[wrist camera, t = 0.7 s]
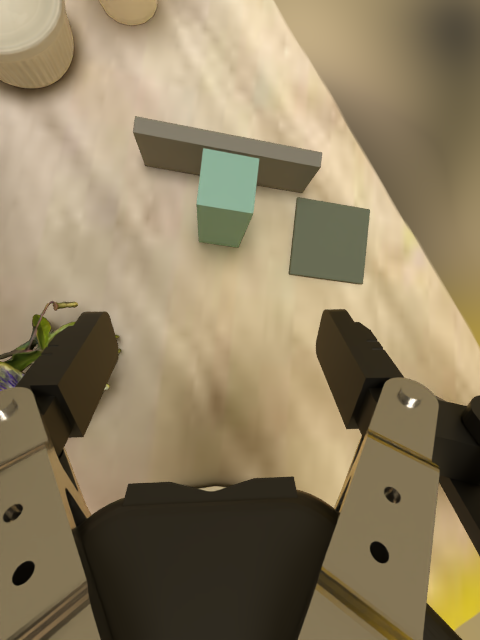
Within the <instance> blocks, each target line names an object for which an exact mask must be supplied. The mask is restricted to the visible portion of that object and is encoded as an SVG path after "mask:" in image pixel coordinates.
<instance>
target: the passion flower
mask: <svg viewBox="0 0 480 640" xmlns="http://www.w3.org/2000/svg"><path fill="white" fill-rule="evenodd" d="M50 303H53V307H54V310H55V311H56V310H57V309H59V308H66V307H69V308H71V307H74V308H75V307H77V306H78V303H76V302H62V303H57V302H53V301H51V302H50ZM50 303H48V304H47V305H46V307H45V309H44V310H43V312H42V314H41V315H37V314H36V315H34V316H33V319H32V326H33V331H32V335H31V338H30V340H29V341H28V342H26V343H24V344H23V345H21V346H19V347H18V348H16V349H15V350H13V351H11V352H9V353H4V354H2V355H0V359H4V358H7V357H10V356H12V358H11V359H9V360H7V361H5V362H1V361H0V391H1V390H4V389H8V388H13V387H15V386H16V385H17V384H18V382H19V381H20V380H21V378H22V377H23V376H24V375H25V373H23V372H22V371H23V370H24V369H25V368H26V367H28V366H29V365H31V364H33V363H34V362H35V361H36V359H37V358H38V357H39V356H41V353H42V352H43V350H44V349H45V348H46V347H48V344H49V343H50V341H51V340H52V339H53V338H54V336H55V335H56V334H58V333H59V332H61V331H62V330H63V329H65V328H66V327H68V326H73V325H74V324H75V322H71V323H68V324H66V325H64V326H61V327H60V328H59V329H56V330H54V331H53V332H51V333H50V331H51V326H50V323H49V322H48V321H47V319H46V318H44V317H43V315H44V313H45V311H46V309H47V307H48V306H49V305H50ZM115 337H116V338H119V336H118V335H115ZM36 344H38V347H37V349H36V350H33V348H34V347H35V346H36ZM120 351H121V350H120V349H118V353H120ZM109 387H110V386H109V385H108V384H107V385H106V387H105V389H104V390H106V389H109Z"/></svg>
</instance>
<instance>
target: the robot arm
mask: <svg viewBox="0 0 480 640" xmlns="http://www.w3.org/2000/svg"><path fill="white" fill-rule="evenodd" d="M316 354H317V358H318V360H319V363H320V365H321V367H322V370H323V372H324V375H325V377H326V380H327V382H328V385H329V387H330V390H331V392H332V395H333V397H334V399H335V402H336V404H337V407H338V409H339V412H340V414H341V417H342V419H343V422H344V424H345V427H346V429H359V430H360V432H361V434H362V436H361V439H360V441H359V444H358V447H357V449H356V452H355V455H354V457H353V460H352V463H351V465H350V468H349V471H348V474H347V476H346V479H345V482H344V484H343V487H342V490H341V492H340V495H339V497H338V500H337V502H336V505H335V507H334V508H333V507H332V506H330V505H329V504H327V503H326V502H324V501H323V500H321V499H319V498H317V497H315V496H313V495H311V494H309V493H306V492H303V491H300V490H296V486H295V481H294V477H274V478H254V479H250V480H247V481H244V482H241V483H238V484H235V485H232V486H229V487H226V488H223V489H220V490H217V491H205V490H201V489H197V488H193V487H189V486H184V485H180V484H176V483H172V482H159V483H135V484H128V487H127V491H126V495H125V498H122V499H120V500H117V501H115V502H113V503H111V504H109V505H107V506H105V507H103V508H102V509H100V510H98V511H97V512H95V513H94V514H93V515H91V513H90V511H89V509H88V507H87V505H86V503H85V500H84V498H83V495H82V493H81V490H80V487H79V485H78V482H77V479H76V476H75V474H74V471H73V468H72V465H71V463H70V460H69V457H68V455H67V452H66V450H65V448H64V446H65V444H66V442H67V440H68V438H71V437H84V434H85V432H86V430H87V428H88V425H89V423H90V421H91V419H92V416H93V414H94V412H95V409H96V407H97V405H98V403H99V400H100V398H101V396H102V394H103V391H104V389H105V387H106V385H107V382H108V380H109V378H110V375H111V373H112V371H113V369H114V366H115V364H116V362H117V359H118V343H117V340H116V337H115V333H114V330H113V326H112V323H111V319H110V316H109V314H108V313H107V312H83V313H82V314H81V316H80V317H79V318H78V320H77V321H76V322H75V324H74V325H73V326H68V327H66V328H65V329H63V330H62V331H61V332H59V333H58V334H56V335H55V336H54V338H53V339H52V340H51V341H50V343H49V344H48V347H46V348H45V349H44V350H43V352H42V353H41V356H39V357H38V358H37V359H36V361H35V362H34V363H33V364H32V366H31V367H30V368H29V370H28V371H27V372H26V373H25V375H24V376H23V377H22V378H21V380H20V381H19V382H18V384H17V385H16V386H15V387H13V388H8V389H4V390H1V391H0V640H462V639H461V638H460V637H459V636H458V635H457V634H456V633H455V632H454V631H453V630H452V629H451V628H450V627H449V625H448V624H447V623H446V622H445V621H444V620H443V619H442V618H441V617H440V616H439V615H438V614H437V613H436V612H435V611H434V610H433V609H432V608H431V607H430V606H429V605H428V604H427V603H426V602H427V592H428V582H429V572H430V563H431V553H432V543H433V533H434V523H435V514H436V504H437V494H438V484H439V482H440V484H441V486H442V488H443V490H444V492H445V493H446V495H447V497H448V499H449V501H450V503H451V504H452V506H453V508H454V510H455V512H456V514H457V515H458V517H459V519H460V521H461V523H462V525H463V526H464V528H465V530H466V532H467V534H468V536H469V537H470V539H471V541H472V543H473V545H474V547H475V548H476V550H477V552H478V554H479V556H480V396H476V397H474V398H473V399H472V400H471V402H470V403H469V404H468V406H463V405H459V404H454V403H450V402H445V401H441V400H437V399H436V397H435V395H434V394H433V393H432V392H431V391H430V390H429V389H428V388H426V387H425V386H423V385H422V384H420V383H418V382H416V381H414V380H411V379H407V378H404V377H403V375H402V374H401V372H400V371H399V370H398V368H397V367H396V365H395V364H394V363H393V361H392V360H391V358H390V357H389V356H388V354H387V353H386V351H385V350H383V347H382V346H381V344H380V343H379V342H377V339H376V337H375V336H374V335H373V333H372V332H371V330H369V329H368V328H367V327H365V326H364V325H362V324H361V323H360V322H354V321H353V319H352V318H351V316H350V315H349V313H348V312H347V311H346V310H345V309H334V310H324V311H323V314H322V317H321V322H320V327H319V331H318V336H317V340H316Z"/></svg>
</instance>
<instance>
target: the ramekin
mask: <svg viewBox="0 0 480 640" xmlns="http://www.w3.org/2000/svg"><path fill="white" fill-rule="evenodd" d="M73 50H74V45H73V36H72V32H71V28H70V24H69V21H68V17H67V14H66V10H65V1H64V0H0V80H1V81H3V82H5V83H7V84H10V85H13V86H17V87H22V88H42V87H45V86H48V85H51V84H53V83H55V82H56V81H58V80H59V79H60V78H61V77H62V76H63V75H64V74H65V73H66V71H67V69H68V68H69V66H70V63H71V61H72V57H73Z"/></svg>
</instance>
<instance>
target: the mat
mask: <svg viewBox="0 0 480 640" xmlns="http://www.w3.org/2000/svg"><path fill="white" fill-rule="evenodd" d="M369 215H370V210H369V209H364V208H358V207H352V206H346V205H340V204H335V203H329V202H323V201H317V200H311V199H306V198H300V197H298V198H297V202H296V211H295V221H294V230H293V240H292V249H291V259H290V268H289V274H291V275H298V276H305V277H313V278H320V279H327V280H334V281H341V282H349V283H356V284H363V277H364V266H365V256H366V246H367V235H368V225H369Z"/></svg>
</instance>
